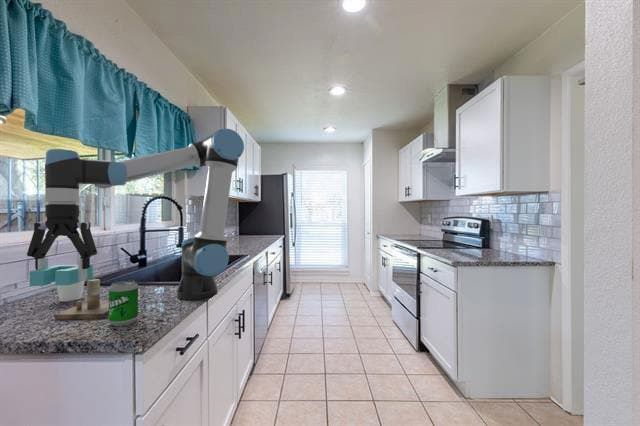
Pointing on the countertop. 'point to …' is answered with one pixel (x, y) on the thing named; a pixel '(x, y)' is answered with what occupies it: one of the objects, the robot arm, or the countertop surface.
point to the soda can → (123, 303)
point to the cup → (70, 291)
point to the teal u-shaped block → (57, 275)
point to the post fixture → (87, 305)
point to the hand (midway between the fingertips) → (63, 280)
